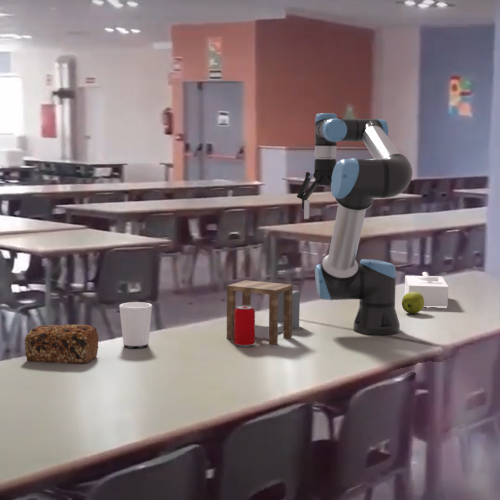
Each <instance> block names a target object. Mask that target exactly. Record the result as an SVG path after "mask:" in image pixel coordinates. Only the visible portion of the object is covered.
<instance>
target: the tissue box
mask: <svg viewBox="0 0 500 500" xmlns="http://www.w3.org/2000/svg"><path fill="white" fill-rule="evenodd" d="M421 274H422V275H405V276H404V296H405V295H406V294H407V293H409V292H418V293H420V294H421V295H422V296H423V298H424V306H425V307H426V306H448V305H449V303H448V302H449V285H448V284H447V283H446V281H445V278H443V276H438V275H437V276H436V275H434V276H433V275H429V272H427V271H423V272H422V273H421ZM424 306H423V307H424Z"/></svg>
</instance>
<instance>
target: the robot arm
mask: <svg viewBox="0 0 500 500" xmlns="http://www.w3.org/2000/svg"><path fill="white" fill-rule="evenodd" d="M388 136H389V126H388V122H387V120H385V119H380V118H379V119H378V118H338V115H337V114H336V113H329V112H327V113H326V112H322V113H320V112H319V113H317V114H316V115H315V121H314V157H315V159H314V171H313V172H312V171H307V172H305V175H304V176H305V178H304V180H303V182H302V185H301V187H300V189H299V190H298V193H297V195H296V197H297V198H298V199H300V200H301V209H302V210H303V220H309V219H310V202H311V201H310V199H309V198H310V196H311V195H312V194H313V193H314V192H315V190H316V189H317V188H318V187H319V186H330V193H331V194H332V197H333V198H334V199H335V202H336V204H337V210H336V215H335V221H334V224H333V225H334V226H333V232H332V236H331V241H330V247H329V250H328V251H329V252H328V254H327V255H325V257H323V259H322V263H319V264H316V265H315V268H314V276H315V287H316V292H317V295H318V297H319V298H320V300H324V301H325V300H326V301H340V300H341V301H342V300H346V301H348V300H359V306H358V310H357V312H356V316H355V318H354V321H353V331H355V332H356V333H359V334H364V335H365V334H367V335H375V336H376V335H378V336H380V335H383V336H384V335H386V334H387V335H393V334H392V333H395V334H397V333H396V332H398V331H399V330H400V327H401V326H400V321H399V317H398V314H397V312H396V311H397V310H396V283H397V281H396V280H397V272H396V271H397V270H396V269H397V268H396V266H395V265H394V264H393V263H391V262H388V261H383V260H377V259H369V258H368V259H367V258H362V259H360V261H359V263H358V262H357V260H356V257H357V252H358V250H359V249H358V248H359V244H360V239H361V235H362V229H363V226H364V221H365V217H366V212H367V210H368V209H370V208H371V207H372V206H373V204H374V199H390V198H394V197H396V196H399V195H400V194H402V193H403V192H404V191H405V190H406V189H407V188H408V187H409V186H410V183H411V180H412V178H413V167H412V165H411V164H412V163H410V160H409V159H408V158H407V157H406V156H405V155H404V154H401V153H400V152H399V151H398V150H397V148H396V147H395V145H394V144H393V142H392V141H391V140H390V138H389V137H388ZM338 142H343V143H344V142H349V143H350V142H352V143H353V142H354V143H355V142H359V143H363V144H364V145H365V147H366V149H367V150H368V152H369V154H370V156H372V158H364V159H363V158H362V159H361V158H360V159H359V158H358V159H357V158H355V157H352V158H344V159H343V158H342V159H340V160H338V161H337V159H335V158H337V148H338V147H337V145H338V144H337V143H338ZM313 178H314V181H313V183H311V185H310V182H311V180H312V179H313ZM309 185H310V187H309V188H308V186H309ZM399 332H400V331H399ZM399 332H398V333H399ZM387 335H386V336H387Z"/></svg>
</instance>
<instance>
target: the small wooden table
mask: <svg viewBox="0 0 500 500" xmlns="http://www.w3.org/2000/svg"><path fill="white" fill-rule="evenodd" d="M292 290H293V284H287V283H280V282H279V283H278V282H277V283H275V282H268V281H267V282H266V281H255V280H246V279H245V280H242V281H237V282H235V283H231V284H228V285H226V339H229V340H234V332H235V309H236V306H237V305H236V303H237V302H236V300H237V299H236V295H237V294H236V292H240V293H241V300H242V301H241V305H250V306H252V305H251V301H252V300H251V299H252V298H251V297H252V296H251V295H252V294H260V295H268V297H269V299H268V300H269V301H268V304H269V305H268V306H269V307H268V309H269V310H268V326H269V339H268V345H274V346H275V345H277V344H278V341H279V339H278V335H279V333H278V294H280V293H283V292H284V323H283V331H282V332H283V335H282V336H283V339H288V338H289V339H292V338H291V337H293V334H292V333H293V329H292Z"/></svg>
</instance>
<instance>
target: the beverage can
mask: <svg viewBox="0 0 500 500" xmlns="http://www.w3.org/2000/svg"><path fill="white" fill-rule="evenodd" d="M255 324H256V310H255V309H254V306H253V305H251V306H250V305H242V304H240V305H235V332H234V339H233V340H234V345H236V346H237V347H242V348H243V347H244V348H249V347H252V346H253V345H255V343H256V338H255Z"/></svg>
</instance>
